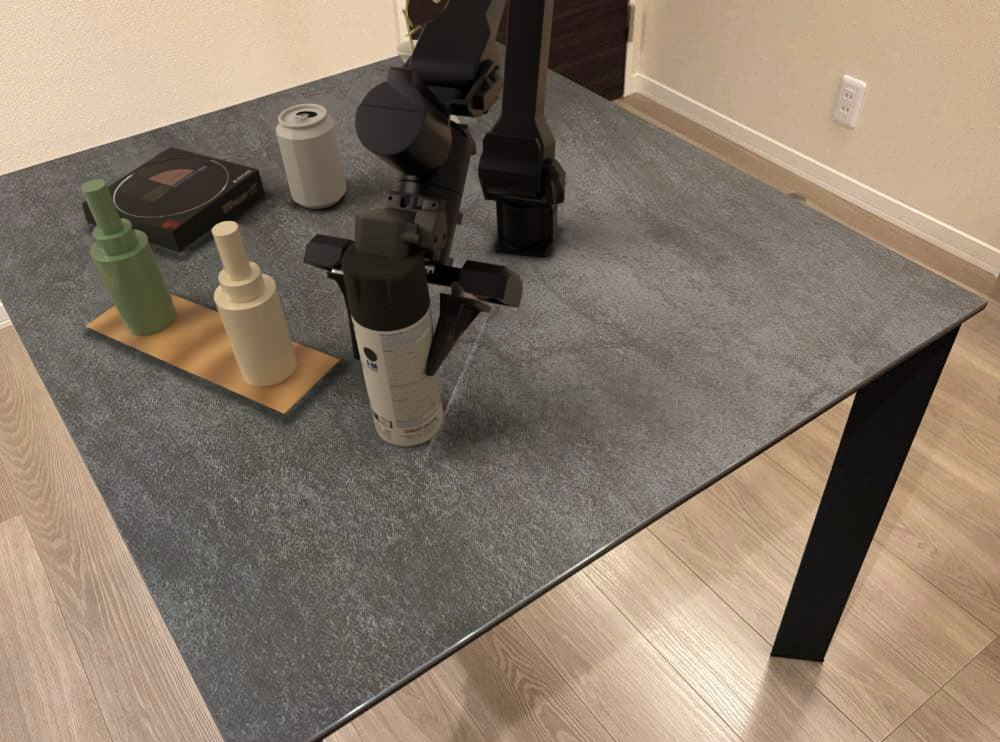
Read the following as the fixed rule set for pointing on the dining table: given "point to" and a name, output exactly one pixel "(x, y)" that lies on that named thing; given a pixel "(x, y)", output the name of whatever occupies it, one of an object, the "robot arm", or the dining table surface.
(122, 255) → the green bottle
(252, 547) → the dining table surface
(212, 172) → the portable cd player
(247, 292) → the cream bottle
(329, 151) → the can
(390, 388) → the spray can
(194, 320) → the board
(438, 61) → the robot arm
